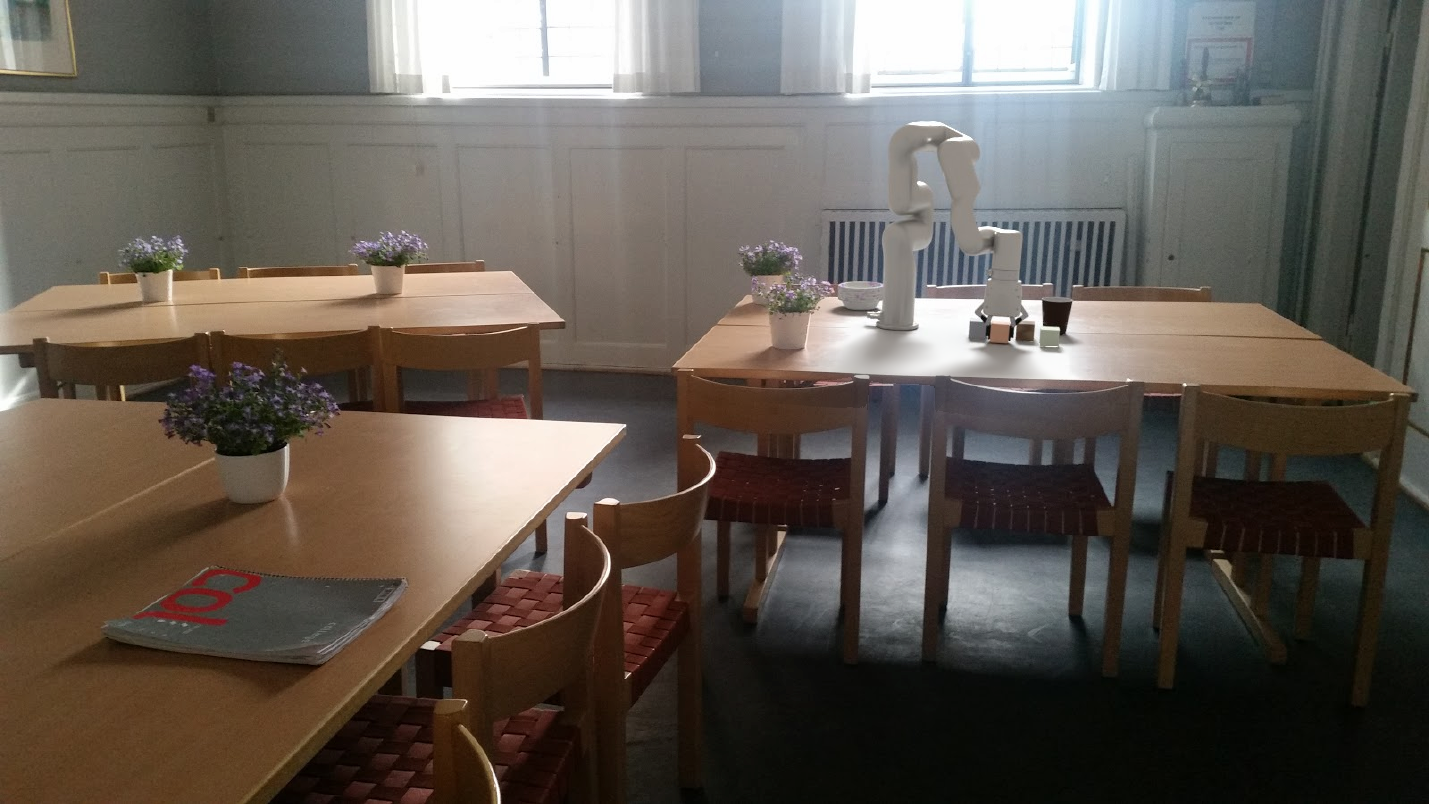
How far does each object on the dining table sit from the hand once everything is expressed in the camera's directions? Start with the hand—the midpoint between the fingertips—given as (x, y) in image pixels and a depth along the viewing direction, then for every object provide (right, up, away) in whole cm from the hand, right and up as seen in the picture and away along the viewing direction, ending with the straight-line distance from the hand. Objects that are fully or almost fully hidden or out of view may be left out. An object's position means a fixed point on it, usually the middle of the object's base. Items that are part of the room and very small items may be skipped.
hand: (999, 338), depth 312 cm
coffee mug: (+21, +3, +15) cm, 25 cm away
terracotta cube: (0, -1, 0) cm, 1 cm away
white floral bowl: (-32, +13, +51) cm, 62 cm away
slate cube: (-4, +1, +8) cm, 9 cm away
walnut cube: (+8, 0, +5) cm, 10 cm away
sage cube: (+13, -2, -3) cm, 14 cm away
